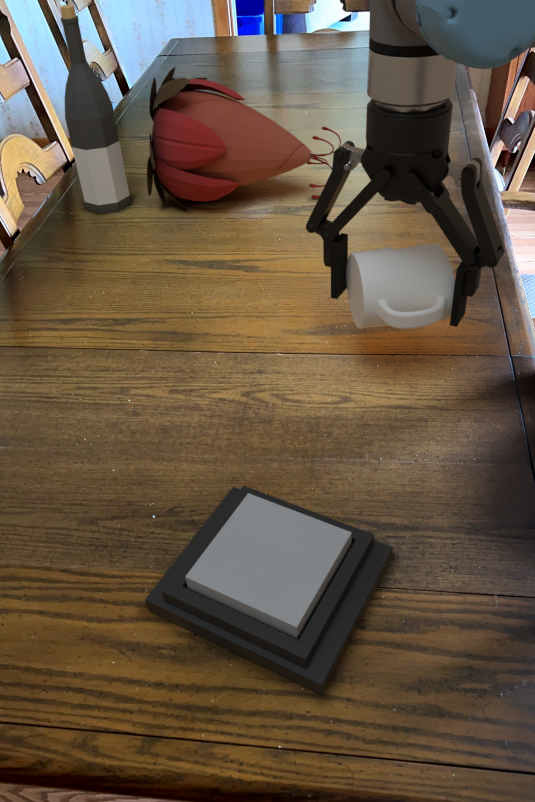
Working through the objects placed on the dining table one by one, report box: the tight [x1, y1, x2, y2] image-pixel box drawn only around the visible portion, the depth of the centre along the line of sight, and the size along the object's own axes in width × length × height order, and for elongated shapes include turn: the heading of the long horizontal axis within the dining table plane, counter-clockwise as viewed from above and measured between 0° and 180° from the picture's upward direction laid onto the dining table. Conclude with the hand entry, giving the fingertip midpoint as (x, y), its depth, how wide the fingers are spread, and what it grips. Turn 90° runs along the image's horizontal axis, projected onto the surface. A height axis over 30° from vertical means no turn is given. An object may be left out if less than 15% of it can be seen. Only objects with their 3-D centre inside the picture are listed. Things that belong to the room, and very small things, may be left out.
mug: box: [346, 242, 456, 330], centre depth 75 cm, size 12×9×8 cm
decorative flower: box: [146, 66, 342, 211], centre depth 115 cm, size 22×23×30 cm
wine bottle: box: [59, 3, 131, 215], centre depth 112 cm, size 8×8×30 cm
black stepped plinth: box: [144, 485, 394, 696], centre depth 60 cm, size 16×14×3 cm
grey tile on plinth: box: [185, 493, 352, 638], centre depth 59 cm, size 10×10×2 cm
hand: (396, 306), depth 77 cm, fingers closed on mug, 13 cm apart
